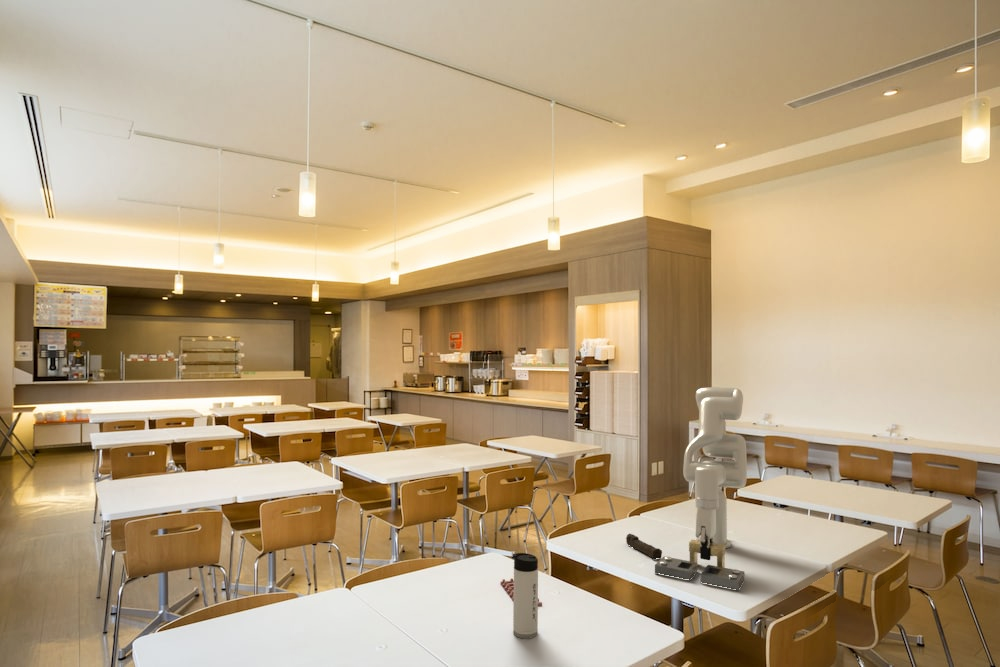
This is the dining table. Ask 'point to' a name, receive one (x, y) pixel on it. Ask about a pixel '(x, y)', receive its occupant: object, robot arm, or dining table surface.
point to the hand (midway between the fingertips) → (707, 556)
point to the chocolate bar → (511, 589)
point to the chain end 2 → (723, 577)
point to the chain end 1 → (676, 567)
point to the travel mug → (525, 596)
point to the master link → (714, 551)
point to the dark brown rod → (643, 546)
